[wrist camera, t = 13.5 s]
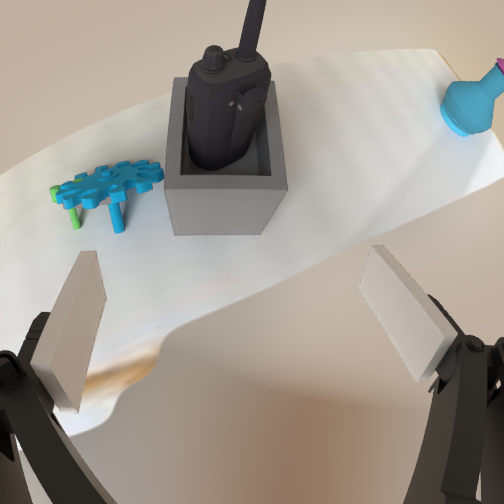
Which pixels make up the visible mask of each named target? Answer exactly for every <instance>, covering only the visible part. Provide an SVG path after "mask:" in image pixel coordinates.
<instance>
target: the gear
mask: <svg viewBox="0 0 504 504" xmlns="http://www.w3.org/2000/svg"><path fill="white" fill-rule="evenodd" d="M95 171H96V172H95V173H94V174H93V175H90V176H88V175H87V173H86V172H85V173H82V174H79V175H76V176H75V180H74V181H68V182H65V183H64V184H62V185H56V186H53V187H51V188H50V193H51V196H52V200H53V203H55V202H57V204H61V203H62V204H63V208H64V209H68V210H69V213H70V216H71V220H72V223H73V227H74V229H79V228H80V227H81V225H80V222H79V218H78V214H77V211H76V208H79V207H83V208H84V209H94V208H96V207H97V206H98V205H103V204H108V206H109V210H110V215H111V219H112V223H113V227H114V231H115V233H121V232H123V231H124V230H125V228H124V223H123V219H122V215H121V210H120V205H119V202H122V201H126V200H127V199H128V197H127V192H126V191H127V190H128V189H130V188H136V190H137V193H144V192H147V191H149V190H151V189H153V187H152V183H157V182H160V181H161V180H163V179H164V172H163V169H161V168H160V163H159V162H156V163H151V164H149V161H147V160H140V161H137V162H136V163H133V164H131V165H130V161H123V162H119V163H117V165H116V166H114V167H112V168H110V169H108V167H107V165H105V166H101V167H97V168H95Z"/></svg>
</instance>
